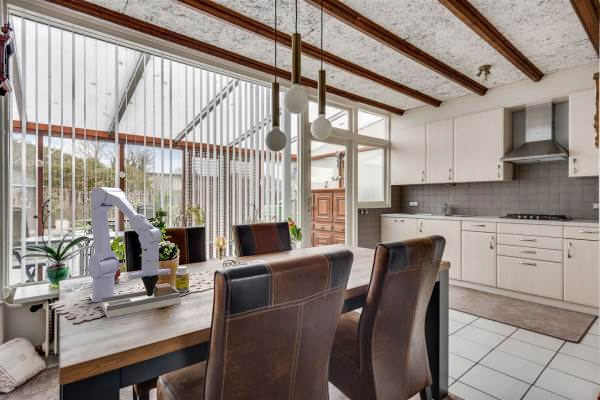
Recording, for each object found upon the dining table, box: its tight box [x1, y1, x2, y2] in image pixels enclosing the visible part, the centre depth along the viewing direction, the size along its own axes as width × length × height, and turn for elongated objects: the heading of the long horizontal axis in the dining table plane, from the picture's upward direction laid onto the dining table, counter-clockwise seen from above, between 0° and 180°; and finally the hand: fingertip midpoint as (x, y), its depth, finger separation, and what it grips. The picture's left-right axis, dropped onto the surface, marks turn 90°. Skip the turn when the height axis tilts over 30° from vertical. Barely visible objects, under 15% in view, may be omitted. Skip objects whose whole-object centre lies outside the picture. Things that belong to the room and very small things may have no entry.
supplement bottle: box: [174, 265, 190, 293], centre depth 133 cm, size 6×6×10 cm
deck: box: [100, 286, 182, 319], centre depth 114 cm, size 14×24×4 cm, turn 130°
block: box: [154, 282, 173, 297], centre depth 119 cm, size 5×5×4 cm
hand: (149, 295), depth 116 cm, fingers closed
